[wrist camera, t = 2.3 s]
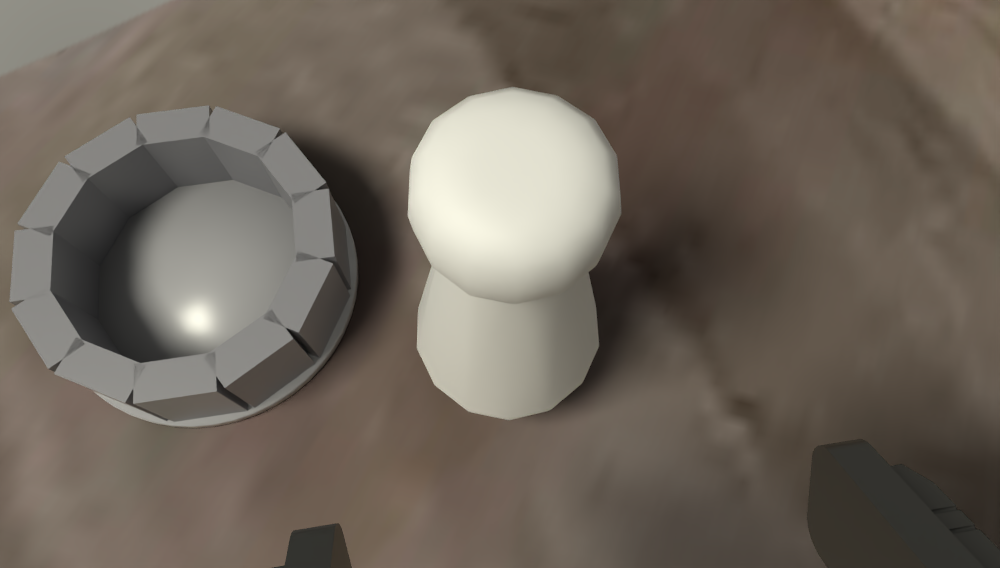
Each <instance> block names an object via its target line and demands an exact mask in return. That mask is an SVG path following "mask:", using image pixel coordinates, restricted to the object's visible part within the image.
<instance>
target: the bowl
mask: <svg viewBox="0 0 1000 568" xmlns="http://www.w3.org/2000/svg"><path fill="white" fill-rule="evenodd" d="M65 158H66V159H67V161H68V162H69V163H70V165H71V166H69V165H67V164H64V163H61V162H58V164H57V165H56V167H55V168H54V170H53V171H52V173H51V174H50V176H49V177H48V179H47V180H46V182H45V183H44V185H43V186H42V188H41V189H40V191H39V192H38V194H37V195H36V197H35V198H34V200H33V201H32V203H31V204H30V206H29V207H28V209H27V210H26V212H25V213H24V215H23V216H22V218H21V219H20V221H19V222H18V225H20V226H21V227H22V228H24V230H17V231H15V234H14V248H13V262H12V276H11V289H10V302H11V303H13V304H15V305H16V306H15V307H13V308H12V311H13V313H14V314H15V316H16V317H17V319H18V321H19V322H20V324H21V326H22V327H23V329H24V330H25V332H26V334H27V335H28V337H29V339H30V340H31V342H32V343H33V345H34V347H35V348H36V350H37V352H38V353H39V355H40V356H41V358H42V360H43V361H44V363H45V365H46V366H47V368H48V369H50V370H52V371H54V372H55V373H54V374H56V375H58V376H60V377H63V378H65V379H67V380H70V381H72V382H74V383H76V384H79V385H81V386H83V387H86V388H88V389H90V390H93V391H94V392H95V393H96V394H97V395H98V396H100V397H101V398H102V399H104V400H105V401H107V402H108V403H109V404H111V405H112V406H114V407H116V408H118V409H120V410H122V411H124V412H126V413H128V414H130V415H132V416H134V417H137V418H139V419H142V420H145V421H148V422H151V423H155V424H159V425H164V426H170V427H175V428H206V427H217V426H222V425H226V424H231V423H235V422H239V421H242V420H245V419H247V418H250V417H253V416H256V415H258V414H260V413H262V412H264V411H266V410H269V409H271V408H273V407H275V406H276V405H278V404H280V403H281V402H283V401H284V400H286V399H287V398H289V397H290V396H292V395H293V394H295V393H296V392H297V391H298V390H299V389H301V388H302V387H303V386H304V385H305V384H307V383H308V382H309V381H310V380H311V379H312V378H313V377H314V376H315V375H316V374H317V373H318V372H319V370H320V369H321V368H322V367H323V366H324V365H325V363H326V362H327V361H328V359H329V358H330V357H331V355H332V354H333V353H334V351H335V350H336V348H337V346H338V344H339V343H340V341H341V339H342V337H343V335H344V334H345V331H346V329H347V326H348V324H349V321H350V319H351V316H352V313H353V309H354V305H355V301H356V297H357V288H358V280H359V279H358V259H357V253H356V247H355V243H354V240H353V237H352V234H351V231H350V228H349V226H348V224H347V222H346V220H345V218H344V216H343V213H342V211H341V209H340V208H339V206H338V205H337V203H336V202H335V201H334V199H333V197H332V194H331V192H330V190H329V188H328V185H327V183H326V182H325V180H324V179H323V178H322V177H321V175H320V174H319V173H318V172H317V171H316V169H315V168H314V167H313V166H312V164H311V163H310V162H309V161H308V159H307V158H306V157H305V156H304V155H303V153H302V152H301V151H300V150H299V148H298V147H297V146H296V145H295V143H294V142H293V141H292V140H291V139H290V137H289V136H288V135H287V134H286V132H285V133H284V134H282V132H281V130H280V128H277V127H274V126H271V125H268V124H265V123H263V122H260V121H257V120H254V119H251V118H248V117H246V116H243V115H240V114H237V113H234V112H231V111H228V110H226V109H223V108H220V107H217V106H216V107H215V109H214V110H213V111H212V109H211V108H210V106H201V107H193V108H185V109H177V110H169V111H161V112H153V113H145V114H138V115H137V126H136V124H135V123H134V122H133V121H132V120H131V118H130V117H129V118H127V119H126V120H124V121H122V122H121V123H119V124H117V125H116V126H114V127H112V128H111V129H109V130H107V131H106V132H104V133H102V134H101V135H99V136H98V137H96V138H94V139H93V140H91V141H89V142H88V143H86V144H84V145H83V146H81V147H79V148H78V149H76V150H74V151H73V152H71V153H69V154H68V155H66V156H65Z"/></svg>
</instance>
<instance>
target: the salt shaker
mask: <svg viewBox="0 0 1000 568" xmlns="http://www.w3.org/2000/svg"><path fill="white" fill-rule="evenodd" d="M620 215H621V195H620V184H619V173H618V162H617V155H616V153H615V152H614V150H613V149H612V147H611V145H610V144H609V142H608V140H607V139H606V137H605V135H604V134H603V132H602V131H601V129H600V127H599V126H598V124H597V122H596V121H595V119H593V118H592V117H590V116H589V115H587V114H585V113H584V112H582V111H581V110H579V109H578V108H576V107H574V106H573V105H571V104H570V103H568V102H567V101H565V100H563V99H562V98H560V97H559V96H557V95H552V94H546V93H541V92H536V91H531V90H526V89H521V88H516V87H510V88H506V89H501V90H496V91H492V92H487V93H482V94H477V95H473V96H469V97H467V98H466V99H464V100H463V101H461V102H460V103H458V104H457V105H455V106H454V107H452V108H451V109H449V110H448V111H446V112H445V113H443V114H442V115H440V116H439V117H437V118H436V119H434V120H433V121H432V122H431V124H430V126H429V128H428V130H427V131H426V133H425V135H424V137H423V139H422V140H421V142H420V144H419V146H418V147H417V149H416V151H415V153H414V155H413V156H412V160H411V167H410V178H409V201H408V218H409V220H410V223H411V226H412V229H413V231H414V233H415V235H416V237H417V238H418V240H419V242H420V244H421V246H422V248H423V250H424V252H425V254H426V256H427V258H428V260H429V262H430V264H431V265H432V267H431V270H430V273H429V276H428V279H427V283H426V286H425V289H424V292H423V295H422V298H421V302H420V305H419V308H418V328H417V349H418V352H419V354H420V356H421V358H422V360H423V362H424V364H425V366H426V368H427V370H428V372H429V374H430V376H431V378H432V381H433V383H434V385H435V386H437V387H438V388H439V389H440V390H442V391H443V392H444V393H445V394H447V395H448V396H449V397H451V398H452V399H453V400H454V401H456V402H457V403H458V404H460V405H461V406H462V407H463V408H465V409H466V410H467V411H468V412H472V413H476V414H481V415H486V416H490V417H495V418H500V419H504V420H513V419H517V418H521V417H525V416H529V415H534V414H538V413H542V412H546V411H549V410H551V409H552V408H554V407H555V406H556V405H557V404H558V403H559V402H561V401H562V400H563V399H564V398H565V397H567V396H568V395H569V394H570V393H571V392H572V391H574V390H575V389H576V388H577V387H578V386H580V385H581V384H582V383H583V381H584V379H585V376H586V374H587V372H588V370H589V367H590V365H591V363H592V361H593V359H594V356H595V354H596V352H597V350H598V347H599V337H598V325H597V312H596V304H595V300H594V295H593V291H592V286H591V281H590V277H589V271H591V270H592V269H593V268H594V267H595V266H597V264H598V262H599V260H600V258H601V256H602V254H603V252H604V250H605V247H606V245H607V243H608V241H609V239H610V237H611V235H612V232H613V230H614V228H615V226H616V224H617V222H618V220H619V218H620Z"/></svg>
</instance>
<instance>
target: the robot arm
mask: <svg viewBox="0 0 1000 568" xmlns="http://www.w3.org/2000/svg"><path fill="white" fill-rule="evenodd" d="M807 520H808V528H809V532H810V536H811V539H812V542H813V544H814V546H815V549H816V550H817V552H818V554H819V556H820V557H821V559H822V560H823V562H824V563H825V564H826V566H827V567H828V568H1000V550H999V549H998V548H997V547H996V546H995V545H994V544H993V543H992V542H991V541H990V540H989V539H988V538H987V537H986V536H985V535H984V534H983V533H982V532H981V531H980V530H976V529H975V525H974V524H973V523H972V522H971V520H970V519H969V518H968V517H967V516H966V515H965V514H964V513H963V512H962V511H961V510H959V511H958V510H957V509H956V505H955V504H954V503H953V502H952V501H951V500H950V499H949V498H948V497H947V496H946V495H945V494H944V493H943V492H942V491H941V490H940V489H939V488H938V487H937V486H936V485H935V484H934V483H933V482H932V481H930V480H928V479H926V478H925V477H923V476H921V475H919V474H918V473H916V472H914V471H912V470H911V469H909V468H907V467H905V466H904V465H902V464H900V465H894V466H890V465H889V464H888V463H887V462H886V461H885V460H884V459H883V458H882V457H881V456H880V455H879V454H878V453H877V451H876V450H875V449H874V448H873V447H872V446H871V445H870V444H869V443H868V442H866V441H865V440H862V439H857V440H851V441H845V442H839V443H833V444H827V445H821V446H817V447H816V448H815V449H814V451H813V455H812V465H811V477H810V489H809V501H808V513H807ZM274 568H352V567H351V563H350V559H349V555H348V551H347V547H346V543H345V539H344V535H343V532H342V529H341V526H340V525H339V524H338V523H337V524H331V525H325V526H318V527H312V528H306V529H300V530H294V531H293V532H292V533H291V536H290V541H289V546H288V551H287V556H286V562H285V566H280V567H274Z"/></svg>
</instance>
